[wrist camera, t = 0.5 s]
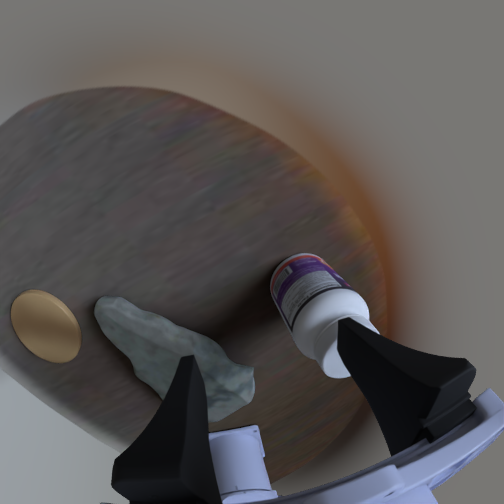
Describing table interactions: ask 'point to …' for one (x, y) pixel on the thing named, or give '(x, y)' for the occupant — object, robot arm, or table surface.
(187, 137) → the table surface
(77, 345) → the coaster
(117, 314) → the stone
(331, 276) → the pill bottle
